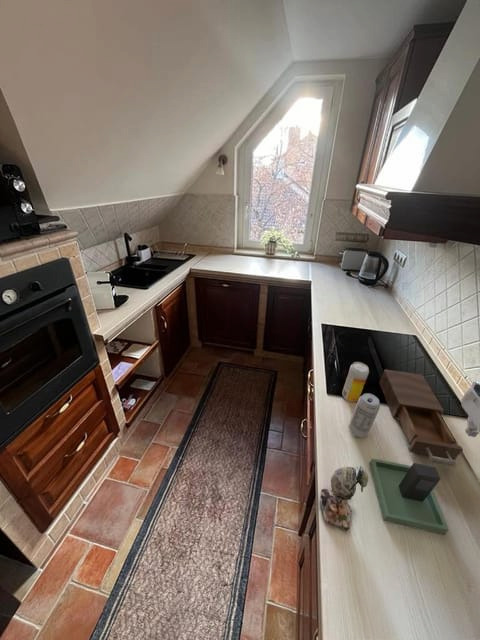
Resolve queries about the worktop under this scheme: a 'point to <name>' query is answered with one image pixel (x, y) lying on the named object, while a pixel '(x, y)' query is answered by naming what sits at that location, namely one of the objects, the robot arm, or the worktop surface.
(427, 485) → the dark grey block
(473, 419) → the robot arm
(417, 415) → the drawer
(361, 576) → the worktop surface
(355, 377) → the beer can
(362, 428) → the energy drink can
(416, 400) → the cabinet
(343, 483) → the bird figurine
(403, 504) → the tray
